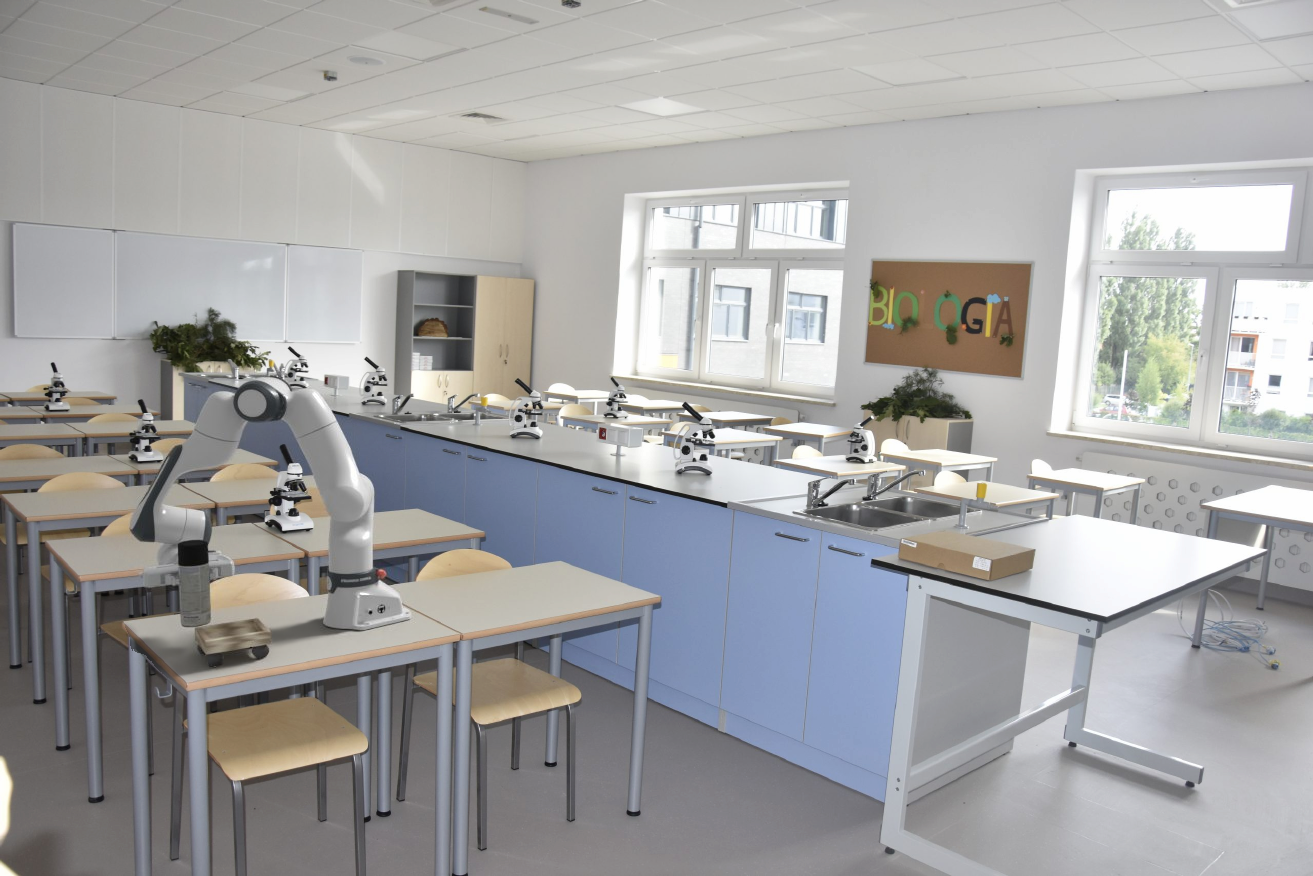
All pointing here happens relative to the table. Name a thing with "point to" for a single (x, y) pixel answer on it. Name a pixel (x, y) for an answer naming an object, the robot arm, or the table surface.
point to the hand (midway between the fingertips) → (195, 579)
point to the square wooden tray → (232, 639)
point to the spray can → (194, 583)
